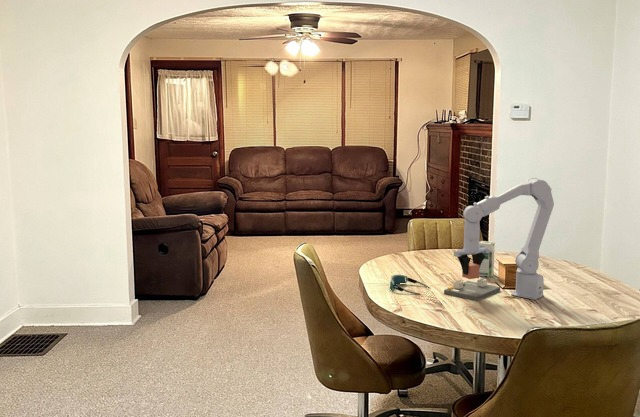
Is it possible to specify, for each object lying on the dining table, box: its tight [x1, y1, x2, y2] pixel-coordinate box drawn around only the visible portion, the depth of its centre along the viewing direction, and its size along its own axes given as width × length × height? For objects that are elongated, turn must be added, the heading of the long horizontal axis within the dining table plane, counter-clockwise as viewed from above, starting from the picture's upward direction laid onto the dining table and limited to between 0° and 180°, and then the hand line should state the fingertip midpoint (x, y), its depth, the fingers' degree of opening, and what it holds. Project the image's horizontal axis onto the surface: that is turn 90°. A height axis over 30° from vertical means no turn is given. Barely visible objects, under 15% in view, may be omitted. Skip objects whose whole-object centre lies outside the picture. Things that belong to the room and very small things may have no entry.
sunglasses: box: [389, 274, 431, 295], centre depth 240 cm, size 14×15×5 cm
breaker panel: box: [443, 280, 501, 301], centre depth 234 cm, size 14×18×2 cm
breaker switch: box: [476, 277, 488, 287], centre depth 237 cm, size 2×3×3 cm
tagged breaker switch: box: [452, 279, 464, 289], centre depth 234 cm, size 2×3×3 cm
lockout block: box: [461, 262, 480, 280], centre depth 230 cm, size 4×4×5 cm
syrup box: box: [479, 240, 496, 278], centre depth 259 cm, size 6×6×14 cm
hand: (470, 273), depth 230 cm, fingers closed on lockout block, 4 cm apart
